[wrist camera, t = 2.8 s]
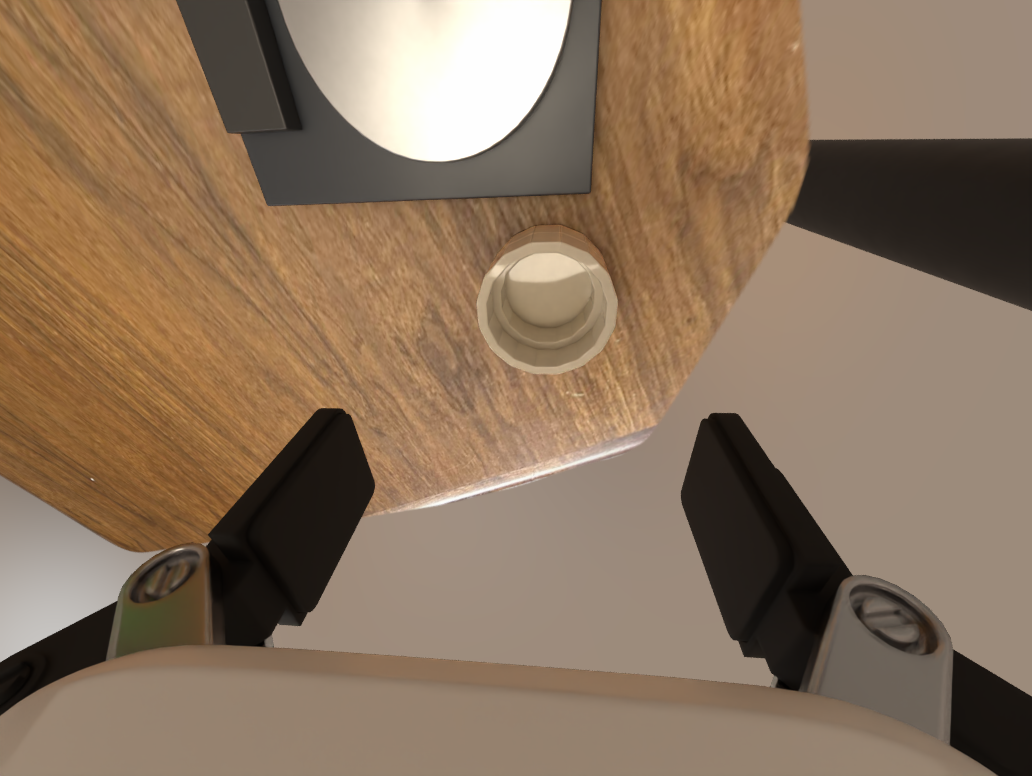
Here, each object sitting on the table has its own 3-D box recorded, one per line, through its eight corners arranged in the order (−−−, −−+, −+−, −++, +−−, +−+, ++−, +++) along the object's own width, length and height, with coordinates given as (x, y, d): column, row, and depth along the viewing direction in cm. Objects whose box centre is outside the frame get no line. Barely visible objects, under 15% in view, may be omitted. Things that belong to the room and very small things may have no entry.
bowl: (612, 220, 20) (625, 240, 16) (602, 337, 24) (610, 375, 20) (486, 225, 21) (469, 243, 17) (495, 337, 24) (483, 374, 20)
